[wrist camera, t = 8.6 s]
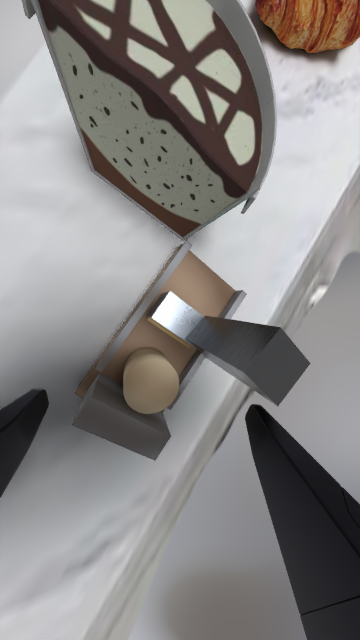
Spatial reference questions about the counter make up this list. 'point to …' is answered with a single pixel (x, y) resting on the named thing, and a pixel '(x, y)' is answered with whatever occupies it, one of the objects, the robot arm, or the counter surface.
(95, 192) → the counter surface
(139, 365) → the nut
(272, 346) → the block
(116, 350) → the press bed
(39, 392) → the robot arm
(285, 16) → the croissant
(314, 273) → the counter surface
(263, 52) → the food container
